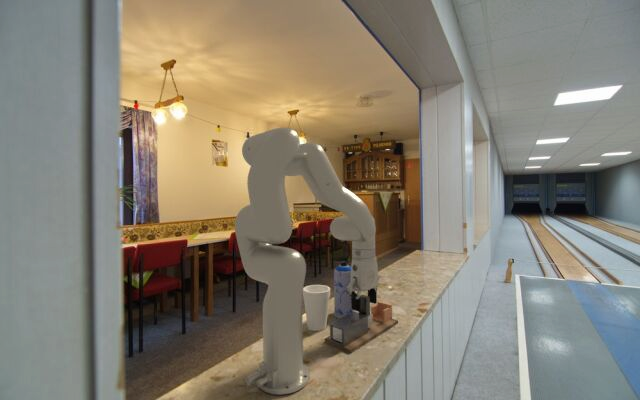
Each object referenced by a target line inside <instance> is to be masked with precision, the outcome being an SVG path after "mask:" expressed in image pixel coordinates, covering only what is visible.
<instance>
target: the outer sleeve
mask: <svg viewBox="0 0 640 400" xmlns="http://www.w3.org/2000/svg"><path fill="white" fill-rule="evenodd" d="M333 326H334V327H337V328H339V329H342V342H339V341H337V340H335V339H333ZM367 333H368V316H367V315H363V314H360V313H359V312H358V311H354V312H352V313H350V314H348V315H346V316H343V317H341V318H337V319H335V320H333V321H330V322H329V336H330V341H331V342H334V343H336V344H338V345H340V346H343V347H345V346H347V345H349V344H350V343H352V342H354V341H355V340H357V339H359V338H360V337H362V336H364V335H365V334H367Z"/></svg>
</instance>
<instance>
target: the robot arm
mask: <svg viewBox="0 0 640 400" xmlns="http://www.w3.org/2000/svg"><path fill="white" fill-rule="evenodd" d="M241 152H242V153H241V154H242V157H243V159H244V161H245V162H246V163H247V165H249V166H250V167H249V171H248V174H247V180H246V181H247V183H246V184H247V190H248V191H247V192H248V198H249V204H248V205H246V206H244V207H242V208H241V209H240V210H239V211H238V213H237V215H236V217H235V221H234V232H235V233H234V234H235V237H236V241H237V246H238V250H239V255H240V258H241V259H240V260H241V264H242V267H243V269H244V271H245V273H246V274H247V276H248V277H249V278H251V279H253V280H255V281H257V282H261V283H263V284H266V285H268V287H267V290H266V293H265V296H264V298H263V303H262V344H263V345H262V346H263V347H262V349H263V350H262V351H263V352H262V355H263V356H262V359H263V361H261V362H259V368H258V369H256V372H253V373H252V374H249V375H247V376H245V378H244V384H245V385H246V386H247V387H250V386H251V385H253V384H255V383H256V386H257V387H258V388H259V389H261V391H264V392H265V393H268V394H271V395H278V396H279V395H280V396H281V395H289V394H292V393H296V392H297V391H300V390H301V389H302V388H304V387H305V386H306V385H307V384H308V382H309V380H310V369H309V368H308V366H307V365H306V364H305V363H304V349H303V346H304V344H303V343H304V341H303V340H304V339H303V338H304V337H303V331H304V330H303V325H304V324H303V288H304V284H305V281H306V280H305V278H306V274H307V263H306V259H305V258H304V256H303V254H302V253H300V252H299V251H297V250H296V249H293V248H290V247H286V246H279V245H280V244H284V243H285V242H287V241H288V240H289V239H290V237H291V235H292V233H293V224H292V218H291V213H290V208H289V207H290V206H289V202H288V198H287V192H286V186H285V185H286V184H285V181H286V177H297V176H302V178H303V180H304V181H305V183H306V184H307V186H308V188H309V189H310V192H311V194H312V195H313V197H314V198H315V200H316V201H317V202H318V203H320V204H322V205H324V206H326V207H328V208H330V209H334V210H336V211H338V212H339V213H342V215H341V216H338V217H335V218H334V219H333V220H332V221H331V223H330V225H329V231H330V234H331V235H332V236H333V237H334V238H335V239H337V240H339V241H348V242H351V247H352V249H351V252H352V253H351V257H352V259H351V265H350V266H351V282H350V283H349V284H348V286H347V290H348V293H349V295H350V297H351V306H352V310H354V312H357V313H359V311H361V299H360V298H359V297H360V295H362V292H367V296H369V297H370V304H371V303H372V304H374V305H376V304H377V302H378V300H377V297H378V296H377V291H378V286H379V285H380V284H379V281H380V278H381V277H380V276H379V267H378V266H379V265H378V259H377V257H376V233H377V232H376V231H377V230H376V223H375V222H376V221H375V218H374V216H373V215H372V213H371V211H370V209H369V208H368V206H367V204H366V203H365V202H364V201H363V200H362V199H361V198H359V197H358V196H357V195H356V194H355V193H353V192H352V191H351V190H349V189H348V188H346V187H345V186H343V184H342V183H341V181H340V179H339V177H338V175H337V173H336V171H335V169H334V167H333V166H332V164H331V162H330V160H329V157H328V155H327V154H326V152H325V150H324V148H323V147H322V146H321V145H320V144H318V143H315V142H306V143H305V142H304V143H302V144H301V142H300V138H299V135H298V133H297V132H296V131H295V130H294V129H292V128H290V127H285V126H284V127H276V128H272V129H269V130H267V131H264V132H260V133H257V134H254V135H251V136H250V137H248V138H247V139H245V141H244V143H243V144H242V148H241ZM356 292H357V293H356Z"/></svg>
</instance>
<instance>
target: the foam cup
mask: <svg viewBox="0 0 640 400" xmlns="http://www.w3.org/2000/svg"><path fill="white" fill-rule="evenodd" d="M330 297H331V287H329V286H328V285H326V284H325V285H323V284H310V285H306V286H303V296H302V298H303V302H304V310H305V319H306V325H307V328H308V330H309V331H313V332H320V331H324V330H326V328H327V322H328V315H329V308H330V307H329V305H330Z"/></svg>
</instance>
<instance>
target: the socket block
mask: <svg viewBox="0 0 640 400" xmlns="http://www.w3.org/2000/svg"><path fill="white" fill-rule="evenodd" d="M370 314H373V319H374V320H377V321H380V322H383V323H386V322H387V321H389V320H391V319H393V304H392V303H387V302H384V301H380V300H377V303H376V304H374V305H372V306H370Z"/></svg>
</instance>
